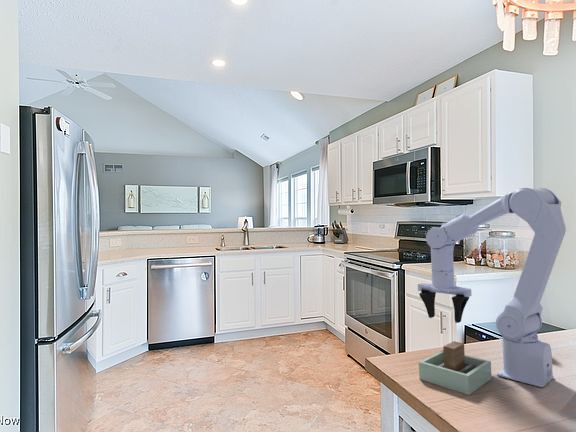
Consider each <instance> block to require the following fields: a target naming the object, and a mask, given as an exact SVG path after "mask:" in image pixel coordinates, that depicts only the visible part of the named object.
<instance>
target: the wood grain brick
mask: <svg viewBox="0 0 576 432" xmlns="http://www.w3.org/2000/svg"><path fill="white" fill-rule="evenodd" d="M442 348H443V349H442V350H443V351H444V368H447V369H450V370H454V371H457V372H458V371H460V370H461V369H463V368H465V355H466V354H465V343H464V342H458V341H451V342H449V343H447V344H444V346H443V347H442Z"/></svg>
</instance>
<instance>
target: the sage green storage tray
mask: <svg viewBox="0 0 576 432" xmlns="http://www.w3.org/2000/svg"><path fill="white" fill-rule="evenodd" d="M418 372H419V373H418V374H419V375H418V376H419V380H421V381H424V382H428V383H431V384H434V385H437V386H439V387H442V388H446V389H449V390H452V391H455V392H459V393H462V394H465V395H468V396H470V395H471V394H472V393H474V392H475V391H477V390H478V389H479V388H481V387H482V386H484V385H485V384H486V383H488V382H489V381H491V380H492V377H493V376H492V360H491V361H490V360H486V359H482V358H478V357H474V356H469V355H466V354H465V368H463V369H461V370H460V371H458V372H457V371H454V370H450V369H447V368H444V351H443V349H442V350H439V351H438V352H436V353H433V354H432V355H430V356H428V357H425V358H424V359H422V360H420V361H418Z"/></svg>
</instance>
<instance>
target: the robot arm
mask: <svg viewBox="0 0 576 432" xmlns="http://www.w3.org/2000/svg"><path fill="white" fill-rule="evenodd" d="M561 206H562V201H561V200H560V199H559V197H558V196H557V195H556V194H555V193H554V192H553V191H552V190H550V189H548V188H541V187H539V188H529V187H521V188H518V189H516V190H514V192H509V193H506V194H505V195H503V196H502V197H500V198H498V199H496V200H495V201H493V202H491V203H489V204H487V205H486V206H485V207H483V208H481V209H479V210H478V211H476V212H474V213H473V214H469V213H458V214H456V215H455V218H453V219H451V220H449V221H447V222H442V223H441V226H440V227H437V226H433V227H431V228H430V229H429V230H428V231H426V235H425V242H426V244H427V245H428V246H429V247H430V258H431V259H430V261H431V263H430V264H431V265H430V266H431V267H430V268H431V283H426V282H425V283H423V282H421V283H417V291H419V297H420V299H421V300H422V302H423V304H424V306H425V309H426V312H427V315H428V318H430V319H432V318H434V317H435V314H436V311H435V310H436V309H435V307H436V306H435V303H436V294H437V293H438V294H444V295H446V294H447V295H451V296H452V295H453V296H452V297H451V300H452V304H453V309H454V310H453V311H454V323H457V324H459V323H461V322H462V318H463V314H464V310H465V308H466V305H467V304H468V301H469V300H470V297H472V288H468V287H462V286H459V285H458V286H457V285H455V271H454V269H455V268H454V265H455V264H454V251H455V250H454V248H455V245H456V244H457V243H458V242H460V241H462V240H464V239H466V238H468V237H470V236H473V235H474V234H476V233H477V232H478V230H479V227H480V226H482V225H483V224H487V223H489V222H491V221H494V220H496V219H498V218H499V217H502V216H504V215H505V216H506V215H507V214H515V215H516V216H518V217H519V218H521V219H522V220H523V221H525V222H526V223H527V224H528V226H529V227H530V228H531V230H532V231H533V232H534V234H533V237H532V242H531V244H530V247H529V250H528V253H527V256H526V259H525V262H524V265H523V268H522V271H521V274H520V277H519V280H518V283H517V285H516V288H515V292H514V294H513V296H512V297H511V298H510V300H509V301H508V302H507V304H506V305H505V307H504V310H503V311H502V312H501V313H500V314H499V315H498V316H497V318H496V320H495V326H496V329H497V331H498V333H499V334H500V335H501V339H502V361H503V369H501V370H499V372H497V373H496V376H498V377H502V378H506V379H509V380H513V381H515V382H516V381H518V382H520V383H524V384H528V385H532V386H535V387H539V388H544V387H545V386H546V385H547V384H549V383H550V381H552V379H554V378H555V375H553V374H554V373H553V356H552V354H553V352H552V347H551V345H550V344H549V343H547V342H545V341H542V340H539V336H538V332H539V330H541V328H542V325H543V320H542V311H543V306H542V305H541V301H542V298H543V295H544V292H545V290H546V287H547V284H548V281H549V280H550V276H551V273H552V271H553V267H554V265H555V262H556V259H557V257H558V254H559V251H560V248H561V245H562V243H563V241H564V237H565V235H566V232H567V231H566V230H567V229H566V224H565V220H564V216H563V212H562V208H561ZM454 295H455V296H454Z"/></svg>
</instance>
